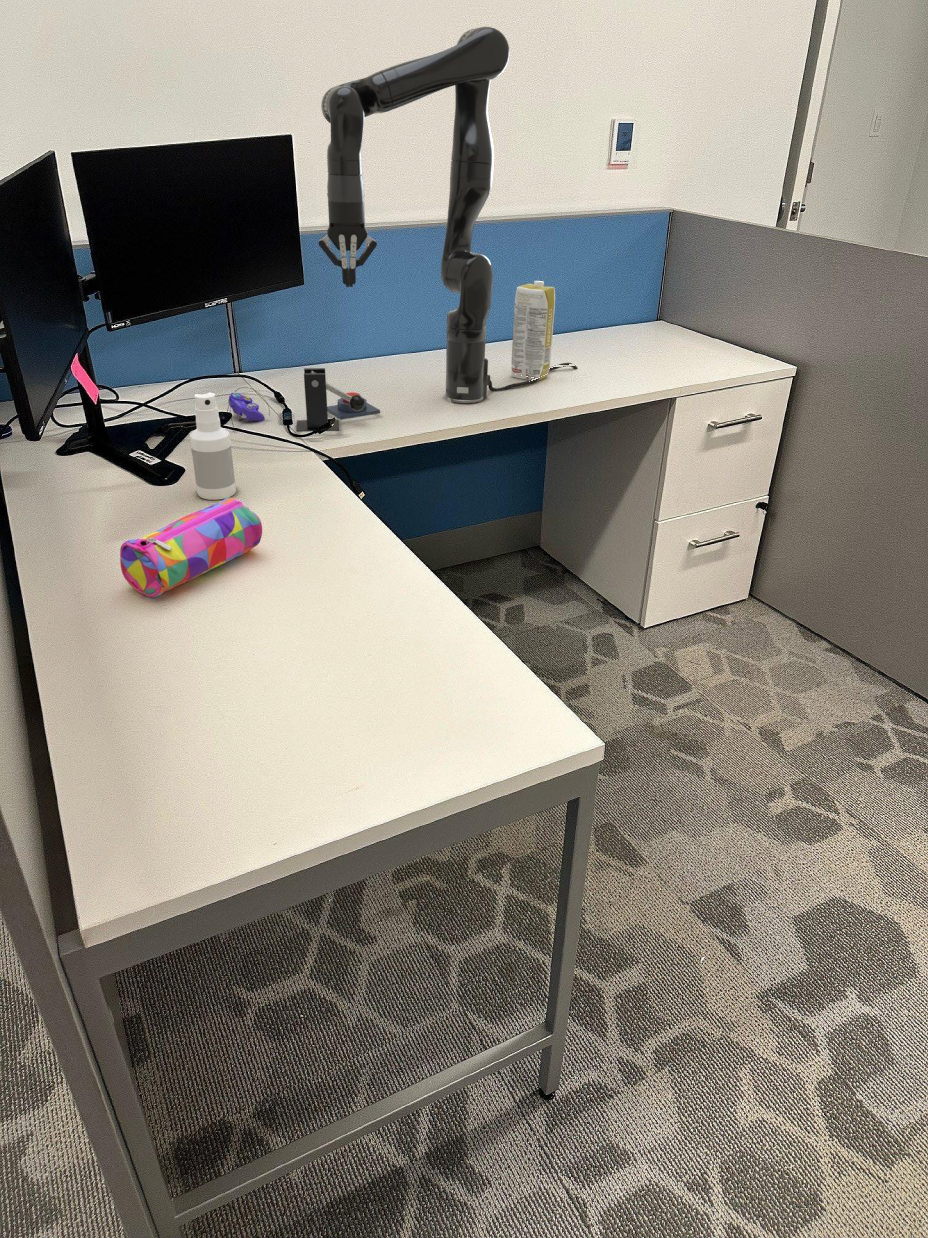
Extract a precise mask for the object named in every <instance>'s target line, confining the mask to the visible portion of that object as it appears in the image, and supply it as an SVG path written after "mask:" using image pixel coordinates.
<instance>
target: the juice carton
mask: <svg viewBox="0 0 928 1238" xmlns="http://www.w3.org/2000/svg"><path fill="white" fill-rule="evenodd" d="M544 285H545V281H541V280H533V284H532V283H526V284H522V285H519V286H516V291H515V296H514V307H513V309H514V310H513V327H512V345H511V346H512V347H511V361H510V362H511V376H512V377H513V378H516V379H520V380H525V381H529V380H532V379H535V378H538V379H539V380H538V381H537V382H539V381H542V380H544V379H546V378H548V376H549V373H550V371H549V368H550V367H551V361H552V360H551V359H552V347H553V346H552V345H553V334H554V322H555V308H556V288H555V287H554V286H544ZM548 372H549V373H548ZM547 373H548V374H547ZM515 374H516V375H515ZM545 374H547V375H545ZM521 375H522V376H521ZM543 375H545V376H543ZM526 376H528V377H526ZM541 376H542V377H541ZM531 377H534V378H531ZM539 377H540V378H539Z"/></svg>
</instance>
